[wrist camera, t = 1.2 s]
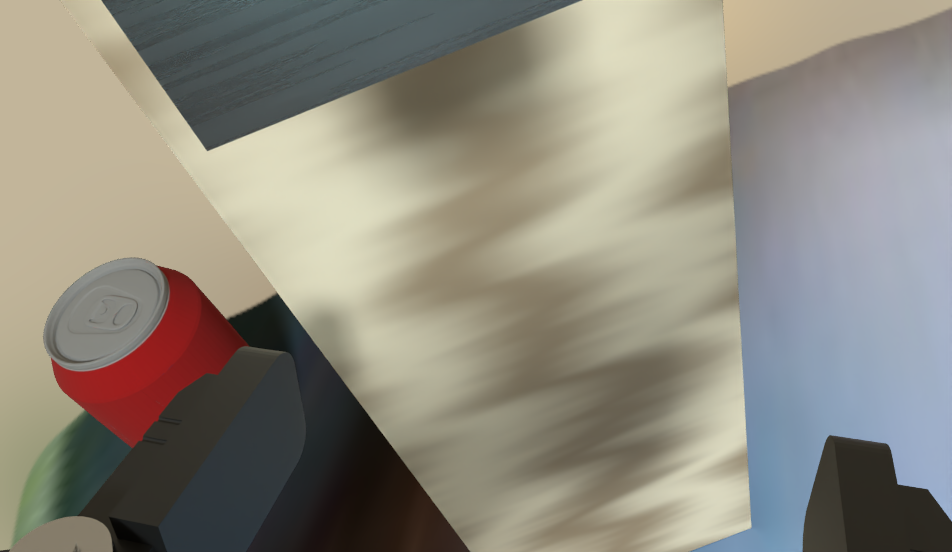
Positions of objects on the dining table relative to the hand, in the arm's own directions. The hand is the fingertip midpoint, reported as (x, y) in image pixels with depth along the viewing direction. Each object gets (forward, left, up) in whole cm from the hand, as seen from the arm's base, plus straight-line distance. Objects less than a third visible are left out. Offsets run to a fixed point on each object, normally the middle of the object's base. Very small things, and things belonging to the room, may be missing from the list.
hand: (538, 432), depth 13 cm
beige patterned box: (-1, -12, -23) cm, 27 cm away
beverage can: (+15, -19, -24) cm, 34 cm away
